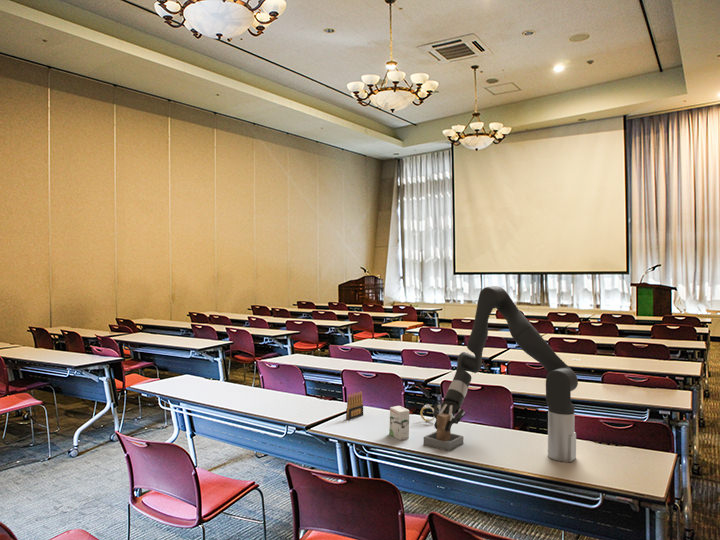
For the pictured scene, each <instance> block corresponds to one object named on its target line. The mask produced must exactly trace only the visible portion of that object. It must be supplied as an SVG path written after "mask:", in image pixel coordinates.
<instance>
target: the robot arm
mask: <svg viewBox="0 0 720 540" xmlns="http://www.w3.org/2000/svg"><path fill="white" fill-rule="evenodd" d="M494 309H496V310H497V311H498V312H499V313H500V314H501V315H502V316H503V318H504V320H505V321H506V323H507V327H508V330H509V332H510V335H511V337H512V339H513V340H514V341H515V343H516V344H517V346H519V348H520V349H521V350H522V351H523V352H524V353H526V354H527V355H528V356H529V357H530V358H532V359H534V360H535V361H537V362H538V363H539V364H541V367H543V368H544V369H545V370H546V372H547V373H548V374H547V375H546V378H545V401H546V404H547V410H548V411H547V420H548V421H547V457H548V458H550V459H552V460H555V461H558V462H567V463H568V462H569V463H572V462H574V460H575V459H576V458H577V432H575V418H576V417H575V409H576V407H575V404H573V403H572V398H571V392H573V391H574V390H576V389H577V388H578V385H579V379H578V377H577V374H576V373H575V371H574V370H573V369H572V368H571V367H569V365H567V363H565V361H563V360H562V359H561V358H560V357H559V356H558V355H557V353H556V352H555V351H554V350H553V348H552V347H551V346H550V345H549V344H548V343H547V341H546V340H545V339H544V337H542V335H541V334H540V333H539V331H538V330H537V328H535V326H533V324H531V322H530V321H529V319H527V317H526V316H525V315H524V314H523V312H521V310H520V309H519V308H518V307H517V305H516V303H515V302H514V300H513V299H512V298H511V296H510V295H509V293H508V292H507V291H506V290H505V288H503V287H502V286H498V285H493V286H492V285H491V286H486V287H484V288H482V289H481V291H480V292H479V294H478V299H477V306H476V311H475V316H474V320H473V325H472V329H471V332H470V335H469V338H468V341H467V345H466V348H467V350H468V351H470V352H471V353H473V354H471V353H469V352H464V351H463V352H460V353H459V355H458V357H457V361H456V362H457V363H456V370H455V374H454V376H453V379H452V381H451V383H450V384H449V387H448V389H447V391H446V393H445V396H444V398H443V401H442V403H441V404H438V403H435V404H433V405H434V407H433V409H434V413H433V416H434V417H435V418H434V419H435V422H434V423H433V425H434V429H435V430H437V415H438V414H440V413H445V414H449V415H450V417H449V421H448V422H447V424H446V427H445V431H446V432H448V431H449V430H450V428H451V429H452V426H453V425H454V424H455V425H458V424H459V423H460V421H461V420H462V419H463V418H464V416H466V412H465V410H464V409H463V408H461V407H462V405H463V403H464V400H465V397H466V396H467V394H468V389H469V386H470V384H471V381H472V375H471V374H470V373H474V374H478V373H479V372H480V371H481V369H482V366H483V365H482V363H483V362H482V361H483V350H484V348H485V345H486V342H487V340H488V335H489V328H488V327H489V318H490V315H491V314H492V311H493V310H494ZM469 372H470V373H469ZM450 431H451V430H450Z"/></svg>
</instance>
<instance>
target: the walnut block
mask: <svg viewBox="0 0 720 540" xmlns="http://www.w3.org/2000/svg"><path fill="white" fill-rule="evenodd" d="M449 417H450V415H449V414H445V413H440V414H438V415H437V429H436V431H437V440H441V441H445V442H446V441H448V440H450V433H451V430H452V427H451V428H450V430H449V431H448V432H446V431H445V427H446V424H447V422H448V421H449Z"/></svg>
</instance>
